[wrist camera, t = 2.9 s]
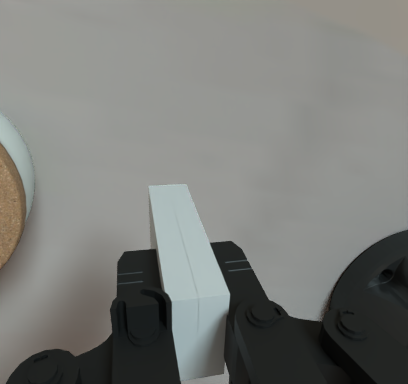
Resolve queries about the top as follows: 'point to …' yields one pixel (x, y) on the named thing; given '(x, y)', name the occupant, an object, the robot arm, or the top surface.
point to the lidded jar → (13, 187)
